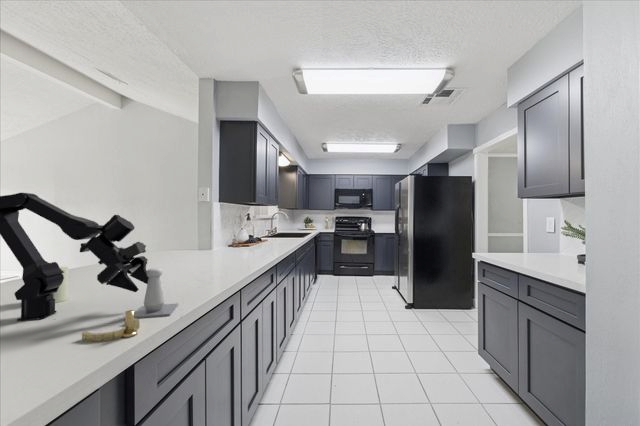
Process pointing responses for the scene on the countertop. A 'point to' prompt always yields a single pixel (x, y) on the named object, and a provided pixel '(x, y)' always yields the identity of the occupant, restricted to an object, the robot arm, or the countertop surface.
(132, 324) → the gold curved piece
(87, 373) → the countertop surface
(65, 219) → the robot arm
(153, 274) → the salt shaker
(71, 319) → the countertop surface
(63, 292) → the can
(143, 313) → the coaster
